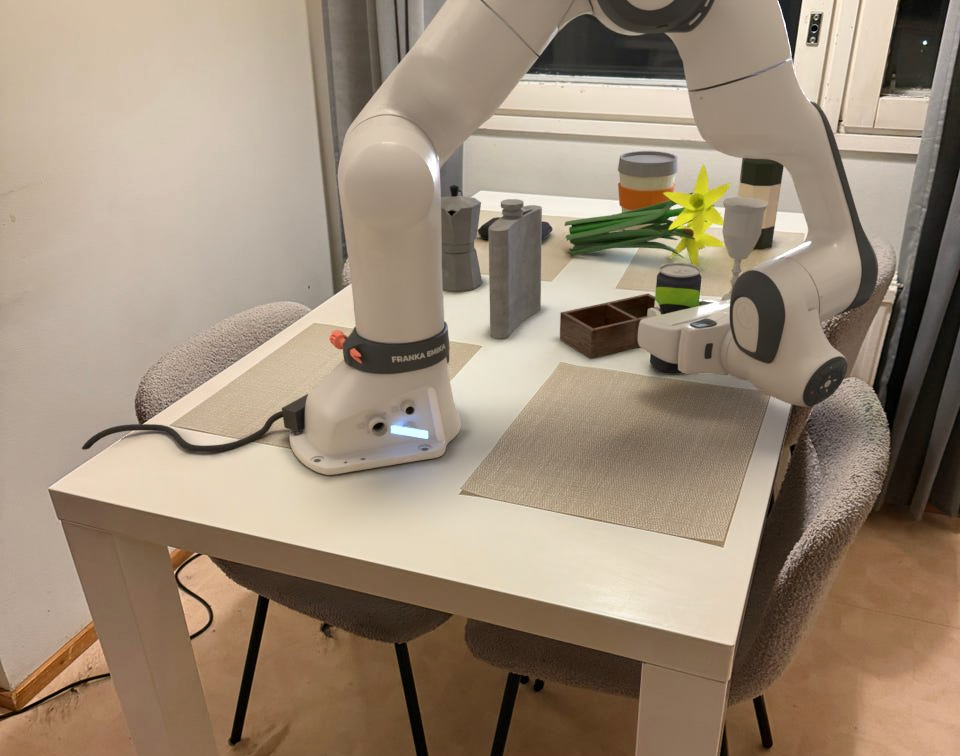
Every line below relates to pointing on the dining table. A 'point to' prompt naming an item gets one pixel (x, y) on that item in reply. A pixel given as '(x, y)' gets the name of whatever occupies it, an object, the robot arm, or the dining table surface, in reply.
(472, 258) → the coffeepot
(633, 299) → the divided box
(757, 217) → the chalice
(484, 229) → the carrying case
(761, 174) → the wine bottle
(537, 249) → the hip flask
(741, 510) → the dining table surface
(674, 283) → the beverage can
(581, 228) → the daffodil flowers
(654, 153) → the reusable coffee cup
